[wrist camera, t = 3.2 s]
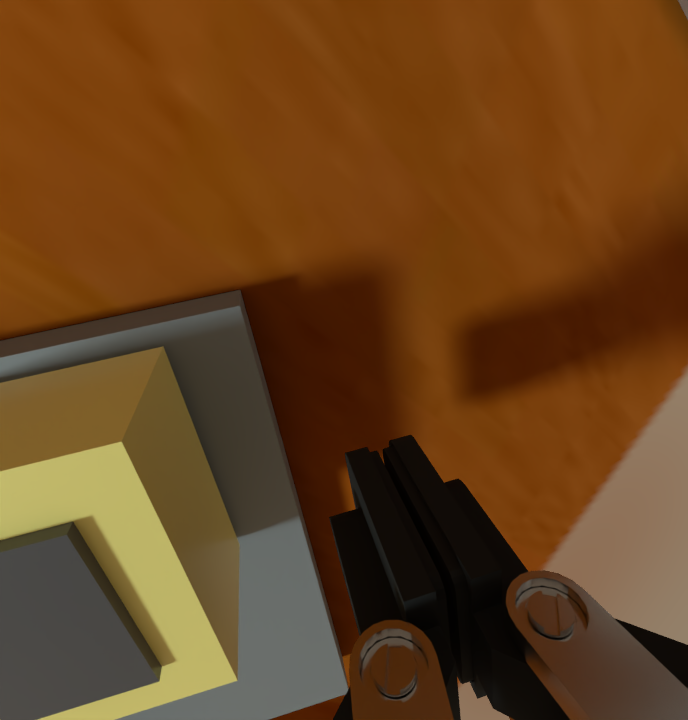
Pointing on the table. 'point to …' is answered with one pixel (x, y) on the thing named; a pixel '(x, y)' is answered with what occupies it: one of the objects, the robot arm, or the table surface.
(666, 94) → the table surface
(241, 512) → the board
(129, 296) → the table surface
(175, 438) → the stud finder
